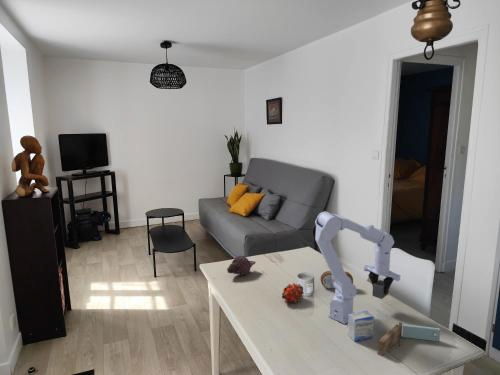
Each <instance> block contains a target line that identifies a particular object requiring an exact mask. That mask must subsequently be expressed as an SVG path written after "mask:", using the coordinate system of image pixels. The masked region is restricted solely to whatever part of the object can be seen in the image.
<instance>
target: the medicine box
mask: <svg viewBox="0 0 500 375" xmlns="http://www.w3.org/2000/svg"><path fill="white" fill-rule="evenodd" d="M374 317H375V316H373V314H371V313H370V312H369V311H368V310H365V311H359V312H354V313H353V314H348V322H347V335H348V336H349V337H350V339H352V341H353V342H359V341H363V340H367V339H372V338H374V319H375V318H374Z"/></svg>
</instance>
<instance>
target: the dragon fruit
mask: <svg viewBox="0 0 500 375" xmlns="http://www.w3.org/2000/svg"><path fill="white" fill-rule="evenodd" d="M304 296H305V295H304V287H303V286H302V285H301V284H300V283H299V284H296V283H294V282H292V284H290V283H289V284H288V285H287V286H285V287H284V288H283V292H282V294H281V299H282V300H284V302H285V303H291V302H292V303H294V304H297V303H298V302H299V300H304V299H303V298H304Z"/></svg>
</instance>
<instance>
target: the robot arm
mask: <svg viewBox="0 0 500 375" xmlns="http://www.w3.org/2000/svg"><path fill="white" fill-rule="evenodd" d="M314 223H315V237H314V239H315V242H316V244H317V246H318V248H319V250H320V252H321V255H322V257H323V259H324V261H325V263H326V265H327V268H328V270H329V271H330V272H331V274H332V276H331V277H332V279H333V286H334V288H335V289H334V296H333V299H332V300H330V303H329V314H327V317H328V318H331V319H333V320H335V321H337V322H339V323H342V324H348V314H353V313H355V312H354V299H355V297H356V295H357V293H358V288H357V287H356V285H355V284H354V283H353V284H352V283H351V281H350V279H349V278H348V277H347V275H346V274H345V272H346V271H345V270H344V268H343V265H342V263H341V261H340V259H339V257H338V254H337V253H336V251H335V248H334V246H333V244H332V242H331V241H332V239H334V237H335V236H336V235H337V234H338V233H339V231H344V230H345V229H348V230H350V231H352V232H355V233H357V234H359V236H360V238H362V239H363V240H366V241H369V242H371V243H373V244H375V248H374V249H375V250H374V266H373V265H365V266H364V267H363V271H364V272H369V273H368V278H369V280H370V282H371V285H372V286H373V284H374V283H376V282H377V281H379V277H380V276H381V277H385V278H383V280H382V281H384V294H385V295H386V294H387V293H388V291H389V292H390V288H391V286H392V284H393V282H394V281H395V282H399V281H400V280H401V275H400V274H397V273H396V272H394V271H391V270H390V268H391V267H390V262H391V251H392V248H393V246H394V244H395V240H394V237H393V235H392V234H390V233H389V232H386V231H384V229H381V228H380V229H379V228H376V227H375V226H374V225H373V224H371V223H370V224H363V225H361V224H359V223H356V222H355V221H352V220H350V219H348V218H346V217H344V216H342V215H340V214H335V213H333V212H331V213H330V211H325V210H324V211H322V212H319V214H318V215H317V217H316V219H315V222H314ZM344 271H345V272H344Z"/></svg>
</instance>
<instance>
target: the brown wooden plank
mask: <svg viewBox="0 0 500 375" xmlns="http://www.w3.org/2000/svg"><path fill="white" fill-rule="evenodd" d="M401 338H403V322H400V321H398V322H397V324H395V325H394V326H393V327H392V328H391V329H390V330H389V331H388V332H387V333H386V334H384V335H383V336H382V337H381V338H380V339H379V340H378V342H377V344H378V345H377V355H379V356H381V357H383V356H384V354H386V353H387V352H388V351H389V350H390V349H391V348H392V347H393V346H394V345H395V344H397V342H398V341H399V340H400V339H401Z"/></svg>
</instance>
